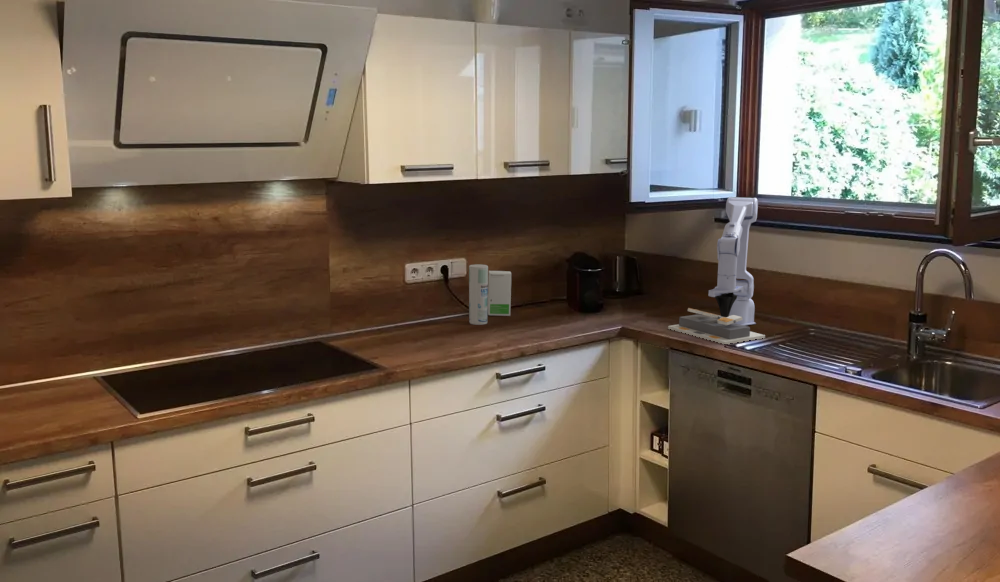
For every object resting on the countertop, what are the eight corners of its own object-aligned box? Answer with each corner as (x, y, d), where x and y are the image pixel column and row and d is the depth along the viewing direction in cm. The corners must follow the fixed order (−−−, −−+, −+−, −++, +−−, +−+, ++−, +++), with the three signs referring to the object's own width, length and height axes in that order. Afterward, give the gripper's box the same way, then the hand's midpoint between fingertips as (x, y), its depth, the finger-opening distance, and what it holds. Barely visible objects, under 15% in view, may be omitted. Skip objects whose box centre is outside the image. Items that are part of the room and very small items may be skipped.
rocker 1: (701, 314, 294) (702, 310, 294) (710, 316, 290) (711, 313, 290) (686, 311, 290) (687, 307, 290) (696, 313, 287) (697, 309, 287)
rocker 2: (716, 318, 288) (717, 314, 288) (726, 320, 284) (727, 317, 284) (701, 314, 284) (702, 311, 284) (711, 317, 281) (712, 313, 281)
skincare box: (488, 316, 311) (488, 273, 308) (487, 312, 317) (487, 270, 315) (511, 315, 311) (511, 273, 308) (510, 312, 318) (510, 270, 315)
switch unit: (706, 323, 301) (707, 311, 301) (764, 338, 280) (765, 326, 279) (668, 328, 292) (668, 317, 291) (725, 344, 270) (725, 332, 270)
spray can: (481, 325, 295) (481, 267, 292) (465, 323, 298) (465, 266, 295) (491, 322, 301) (491, 265, 297) (475, 320, 304) (475, 263, 300)
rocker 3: (732, 317, 282) (732, 314, 282) (742, 320, 278) (742, 316, 278) (717, 323, 279) (716, 319, 278) (727, 325, 275) (727, 322, 275)
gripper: (731, 271, 282) (729, 311, 284) (701, 275, 274) (699, 317, 276) (749, 273, 276) (747, 315, 279) (719, 278, 268) (717, 321, 270)
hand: (724, 316), depth 277 cm, fingers closed
